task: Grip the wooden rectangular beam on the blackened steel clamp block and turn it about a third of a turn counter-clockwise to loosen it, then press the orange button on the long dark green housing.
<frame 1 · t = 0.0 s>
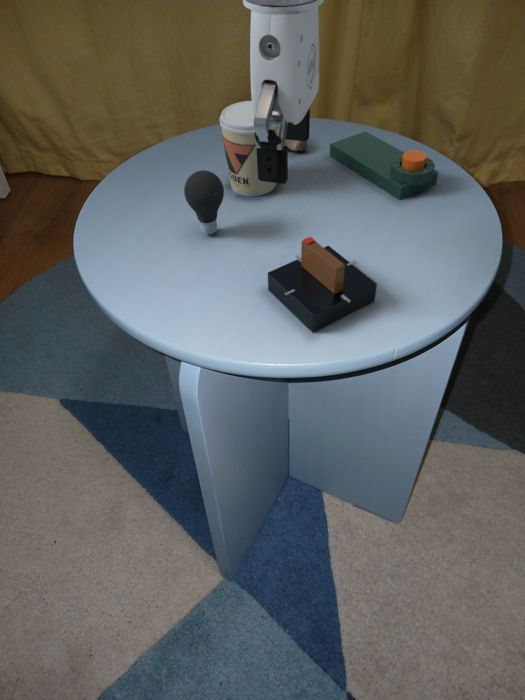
hand: (284, 159, 63), 18 cm above the table, tool pointing down, fingers open, 9 cm apart
clamp block: (320, 295, 73), on the table
light bulb: (209, 234, 84), on the table
wooden rectangular beam: (322, 264, 69), point 5 cm above the table, hinge at 0.0°
button box: (380, 169, 95), on the table
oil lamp: (280, 147, 102), on the table
button: (413, 160, 87), point 4 cm above the table, slide at 0.1 cm
coffee cup: (253, 185, 93), on the table
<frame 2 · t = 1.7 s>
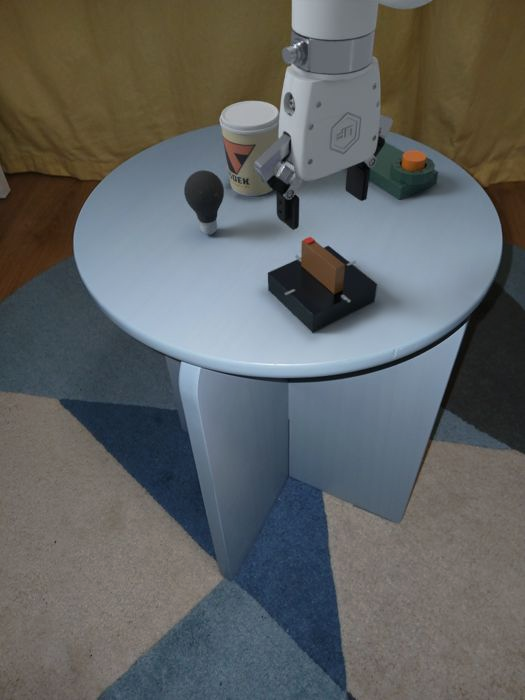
hand: (322, 208, 64), 13 cm above the table, tool pointing down, fingers open, 9 cm apart
nothing on the table moved.
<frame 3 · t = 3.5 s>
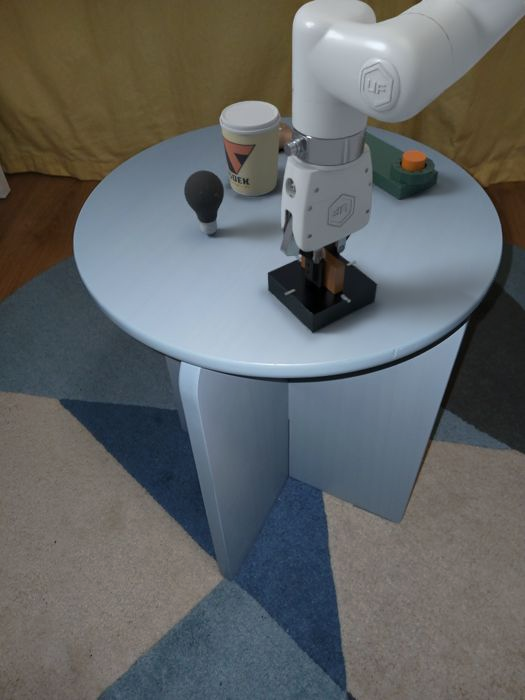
hand: (321, 277, 71), 3 cm above the table, tool pointing down, fingers closed
wooden rectangular beam: (322, 264, 69), point 5 cm above the table, hinge at 0.0°, touching gripper
everything else where it was.
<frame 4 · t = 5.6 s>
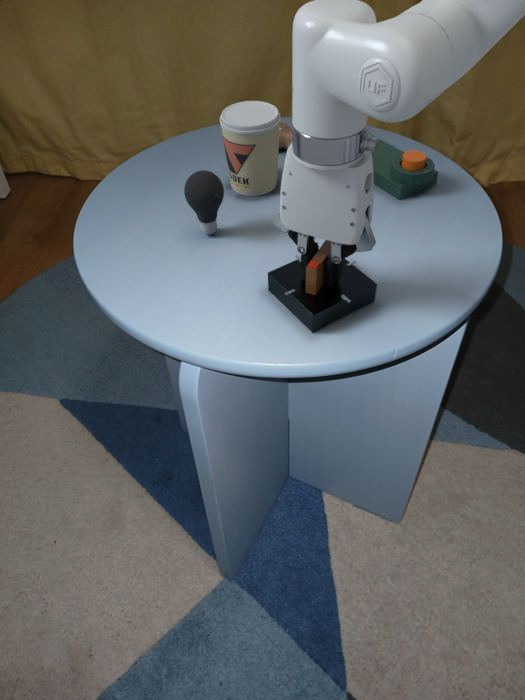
hand: (321, 276, 71), 3 cm above the table, tool pointing down, fingers closed
wooden rectangular beam: (322, 264, 69), point 5 cm above the table, hinge at 119.8°
everything else where it was.
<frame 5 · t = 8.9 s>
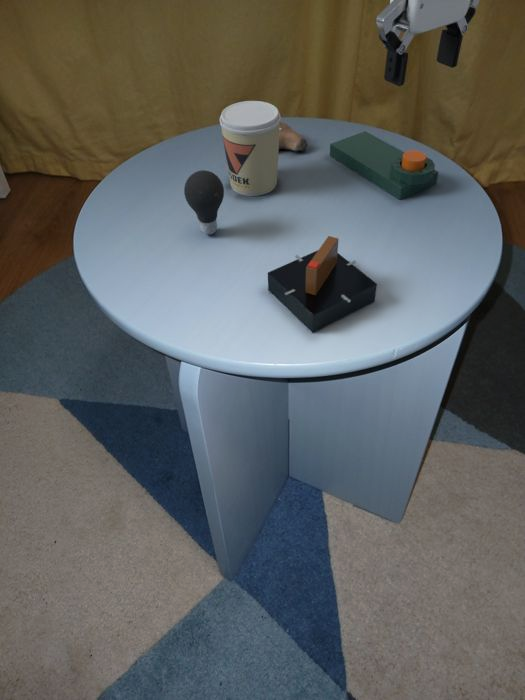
hand: (420, 73, 75), 19 cm above the table, tool pointing down, fingers open, 9 cm apart
nothing on the table moved.
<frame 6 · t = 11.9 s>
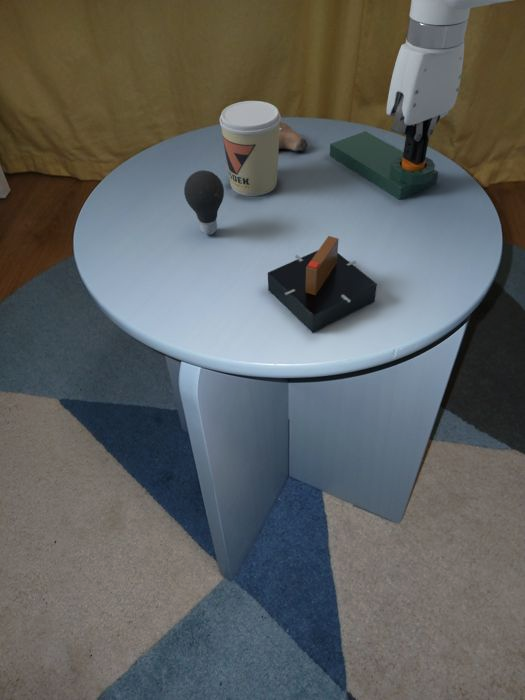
hand: (413, 159, 87), 5 cm above the table, tool pointing down, fingers closed
button: (413, 165, 88), point 4 cm above the table, slide at -0.7 cm, touching gripper
everything else where it was.
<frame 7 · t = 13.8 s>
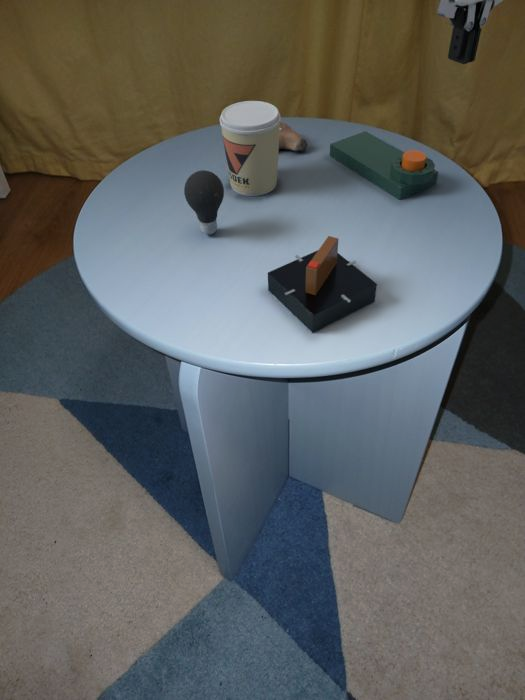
hand: (460, 60, 73), 20 cm above the table, tool pointing down, fingers closed
button: (413, 160, 87), point 4 cm above the table, slide at 0.1 cm
everything else where it was.
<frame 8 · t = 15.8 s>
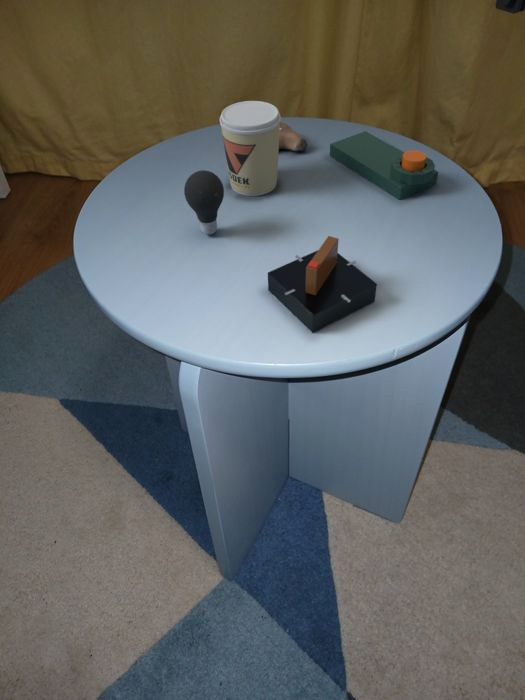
hand: (509, 9, 66), 27 cm above the table, tool pointing down, fingers closed
nothing on the table moved.
at the end: wooden rectangular beam at +120° (first picture: +0°); button pushed in 1.1 cm at the most during the clip, back to where it started at the end; button slide at 0.1 cm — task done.
